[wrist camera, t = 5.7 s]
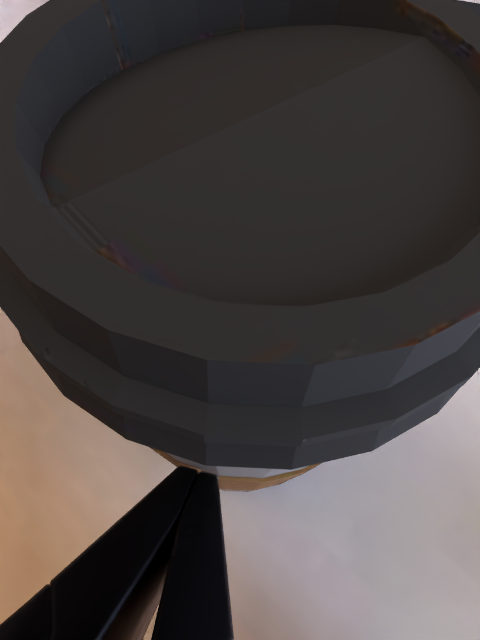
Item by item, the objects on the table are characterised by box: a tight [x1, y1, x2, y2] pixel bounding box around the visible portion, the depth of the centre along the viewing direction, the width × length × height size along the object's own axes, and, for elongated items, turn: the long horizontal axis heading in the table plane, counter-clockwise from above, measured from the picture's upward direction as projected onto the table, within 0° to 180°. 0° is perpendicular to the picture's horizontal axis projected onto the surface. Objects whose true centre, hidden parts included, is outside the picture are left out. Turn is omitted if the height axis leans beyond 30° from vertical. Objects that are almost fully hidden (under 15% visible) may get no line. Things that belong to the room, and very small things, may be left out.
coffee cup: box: [0, 0, 480, 492], centre depth 12 cm, size 8×8×15 cm
